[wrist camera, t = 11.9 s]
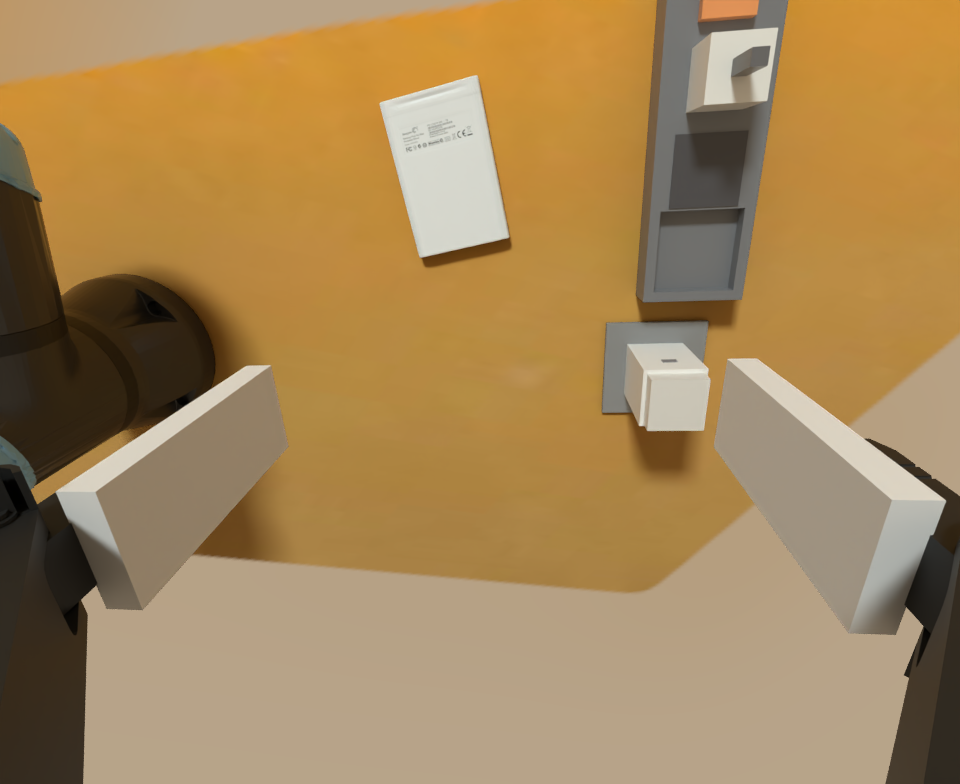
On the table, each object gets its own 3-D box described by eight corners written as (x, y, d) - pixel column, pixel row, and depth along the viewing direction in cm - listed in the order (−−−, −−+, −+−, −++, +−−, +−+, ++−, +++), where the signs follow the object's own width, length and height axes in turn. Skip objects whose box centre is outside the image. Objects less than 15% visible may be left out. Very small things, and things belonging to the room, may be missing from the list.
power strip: (728, 292, 44) (781, 320, 35) (635, 295, 45) (664, 323, 36) (793, -165, 33) (898, -301, 23) (668, -150, 33) (722, -277, 24)
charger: (624, 393, 48) (643, 434, 40) (627, 343, 46) (648, 375, 38) (677, 393, 48) (707, 433, 40) (682, 342, 46) (715, 374, 38)
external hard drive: (422, 255, 46) (383, 105, 41) (510, 236, 44) (479, 78, 40) (419, 258, 44) (377, 102, 40) (509, 238, 43) (477, 74, 38)
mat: (601, 410, 50) (602, 412, 49) (606, 322, 46) (607, 323, 46) (695, 410, 49) (696, 411, 48) (707, 320, 45) (708, 321, 45)
